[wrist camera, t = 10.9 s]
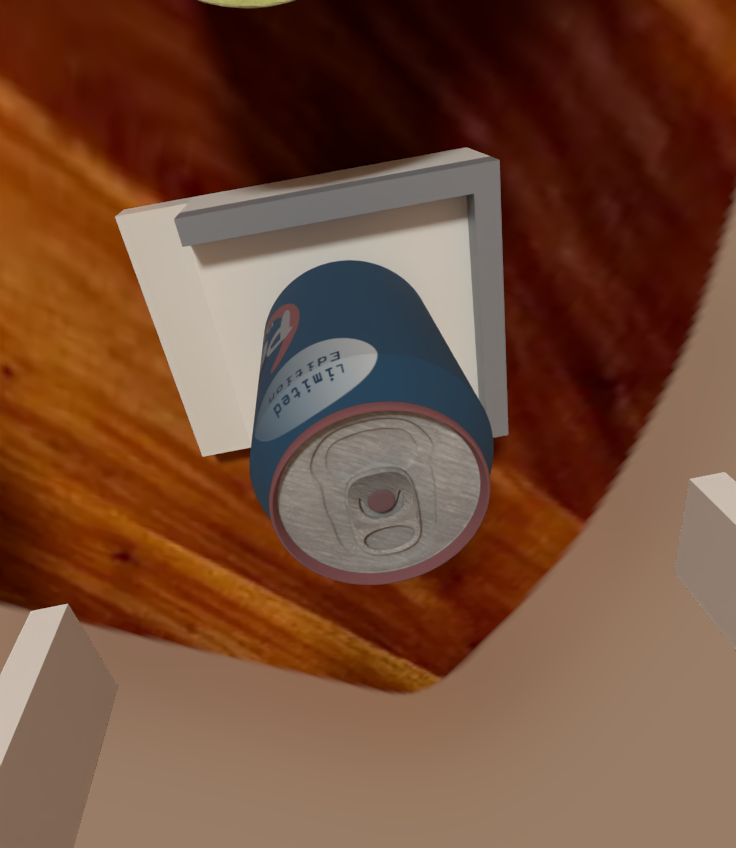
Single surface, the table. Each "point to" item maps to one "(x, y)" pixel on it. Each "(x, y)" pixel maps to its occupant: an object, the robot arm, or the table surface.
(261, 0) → the plant pot
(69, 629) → the robot arm
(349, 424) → the soda can
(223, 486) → the table surface
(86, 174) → the table surface
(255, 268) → the dock
